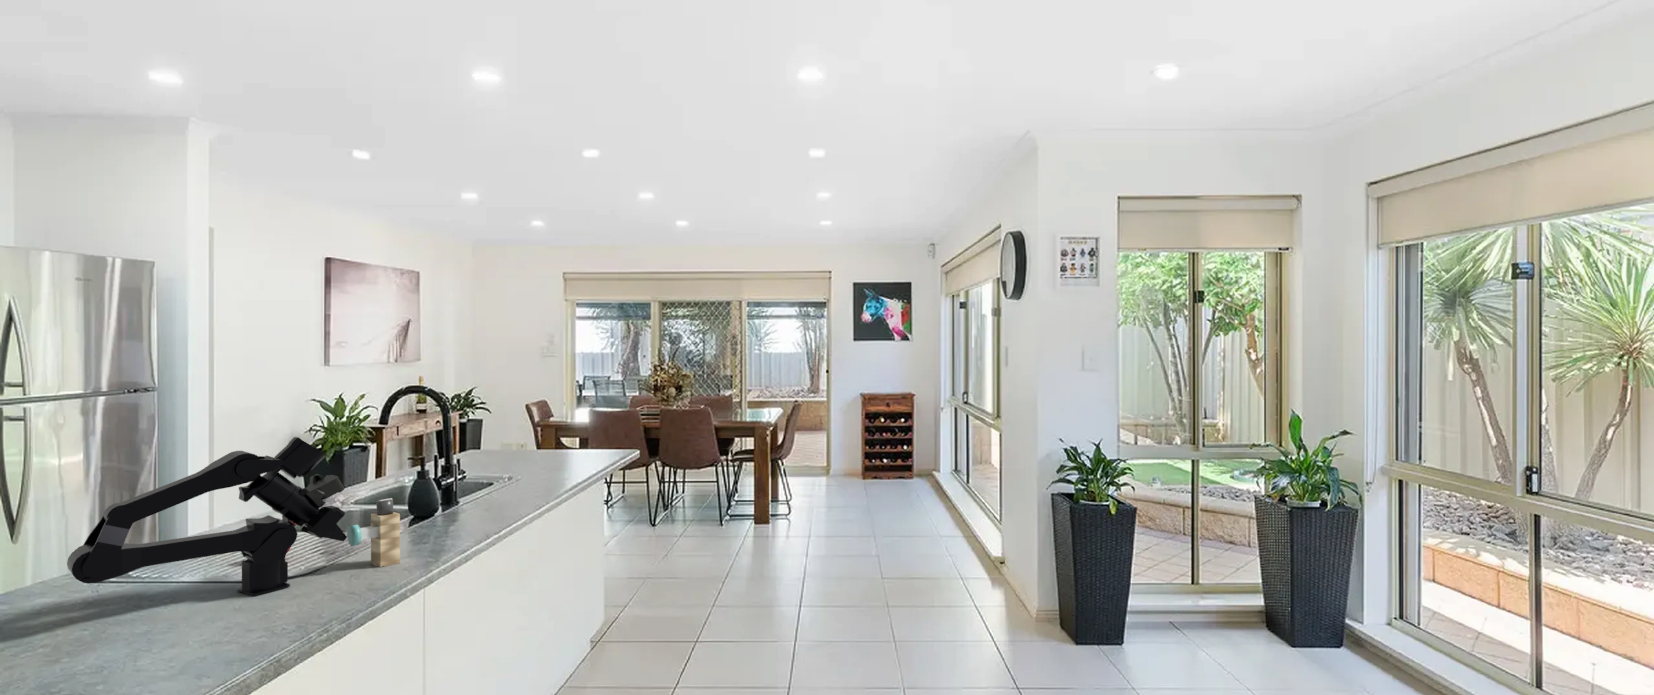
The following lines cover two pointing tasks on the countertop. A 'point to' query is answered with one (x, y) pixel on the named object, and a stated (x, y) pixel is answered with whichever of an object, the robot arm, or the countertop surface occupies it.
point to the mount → (386, 540)
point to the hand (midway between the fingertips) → (344, 539)
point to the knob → (361, 533)
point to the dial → (384, 506)
